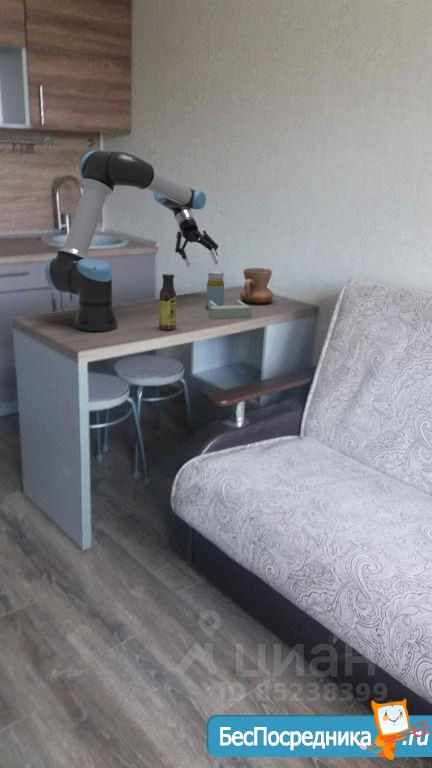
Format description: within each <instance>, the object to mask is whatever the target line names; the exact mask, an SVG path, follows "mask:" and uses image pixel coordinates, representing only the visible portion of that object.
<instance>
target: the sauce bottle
mask: <svg viewBox="0 0 432 768" xmlns="http://www.w3.org/2000/svg"><path fill="white" fill-rule="evenodd" d="M174 279H175V274H174V273H173V272H164V273H162V287H161V289H160V291H159V300H158V301H159V304H158V323H159V324H158V326H159V329H160V330H165V331H169V330H171V331H172V330H175V329H176V325H177V300H178V298H177V293H176V291H175V290H176V289H175V287H174Z"/></svg>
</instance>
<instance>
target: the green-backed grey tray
mask: <svg viewBox="0 0 432 768" xmlns="http://www.w3.org/2000/svg"><path fill="white" fill-rule="evenodd" d="M207 310H208V313H209V314H208V315H209V318H211V320H217V319H219V320H220V319H244V318H245V319H246V318H247V319H249V318H252V307H251V306H250V305H249V304H245V303H244V302H243V301H242V300H240V299H236V300H235V305H223V306H217V305H216V304H215V303H214V302H213V301H209V306H208V308H207Z"/></svg>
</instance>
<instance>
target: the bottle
mask: <svg viewBox="0 0 432 768" xmlns="http://www.w3.org/2000/svg"><path fill="white" fill-rule="evenodd" d="M207 278H208V280H207V283H206V303H205V305H206V308H207V309H208V306H209V301H213V302H214V303H215V304H216V305H217V306H224V297H225V296H224V294H225V283H224V271H221V270H210V271H209V270H208V277H207Z"/></svg>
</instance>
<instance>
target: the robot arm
mask: <svg viewBox="0 0 432 768" xmlns="http://www.w3.org/2000/svg"><path fill="white" fill-rule="evenodd" d="M79 170H80V172H79V173H80V176H81V178H82V179H81V183H82V185H83V190H82V193H81V196H80V199H79V201H78V205H77V208H76V211H75V213H74V217H73V220H72V222H71V225H70V229H69V231H68V234H67V238H66V240H65V244H64V247H63V248H61V249H59V250H58V251H57V253H56V257H52V258H51V259H49V260H48V261H47V263H46V266H45V267H44V268H45V269H44V277H45V279H46V281H47V284H48V285H49V287H50V288H52V289H53V290H56V291H58V292H61V293H68V294H73V295H77V296H78V310H77V313H76V316H75V320H74V328H75V329H77V328H78V329H77V330H79V329H81V330H80V331H82V330H86V331H85V332H89V331H102V332H108V331H107V330H109V331H113V330H115V329H117V328H118V325H119V324H118V322H119V321H118V318H117V315H116V313H115V309H114V307H113V274H112V267H111V265H110V263H107V262H106V261H103V260H101V259H93V258H88V254H89V251H90V247H91V245H92V241H93V239H94V236H95V233H96V230H97V227H98V224H99V220H100V217H101V214H102V212H103V208H104V206H105V204H106V203H105V202H106V199H107V197H108V196H111V195H113V192H114V188H115V186H118V187H119V186H122V187H123V186H124V187H125V186H127V187H134V188H137V189H139V190H145V189H146V190H148V191H151V192H153V199H154V200H155V201H156V202H157V203H158V204H159V205H162V206H163V207H165V208H167V209H168V210H170V211H171V212H172V213H173V215H174V218H175V221H176V223H177V225H178V227H179V230H178V231H177V232H176V235H175V237H176V242H175V243H176V244H175V248H174V252H175V253H178V254H179V256H181V258H182V260H184V262H185V265H186V266H187V268H188V267H190V266H191V264H192V262H191V259H190V257H189V254H188V252H187V250H186V247H187V245H188V242H189V243H198V244H199V245H202V246H203V247H204V248H206V249H207V250H208V251H210V252H209V254H210V256H211V258H212V261H213V263H214V265H215V266H217V265H218V264H219V262H220V260H219V258H218V252H217V250H218V248H219V245H218V243H216V242H215V241H214V239H213V238H211V236H210V235H208V233H207V231H206V230H203V231H200V230H199V228H198V225H197V221H196V220H195V217H194V214H193V212H192V210H203V208H205V205H206V202H207V201H206V200H207V198H206V197H207V196H206V194H205V191H203V190H200V189H199V190H198V189H192V188H191V187H188V186H186V185H185V184H183V183H180V182H178V181H177V180H175V179H174V178H171V177H169V176H167V175H166V174H164V173H162V172H160V171H159V170H156V169H155V168H154V166H152V164H151V163H149V162H147V161H145V160H143V159H141V158H140V157H138V156H135V155H133V154H131V153H129V152H124V151H112V150H111V151H109V150H107V151H106V150H102V149H101V150H97V149H96V150H91V151H89V152H87V153H86V154H84V156H83V157H82V159H81V161H80V164H79ZM182 238H183V239H184V242H183V245H182V246H181V243H182V242H181V241H182Z"/></svg>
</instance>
